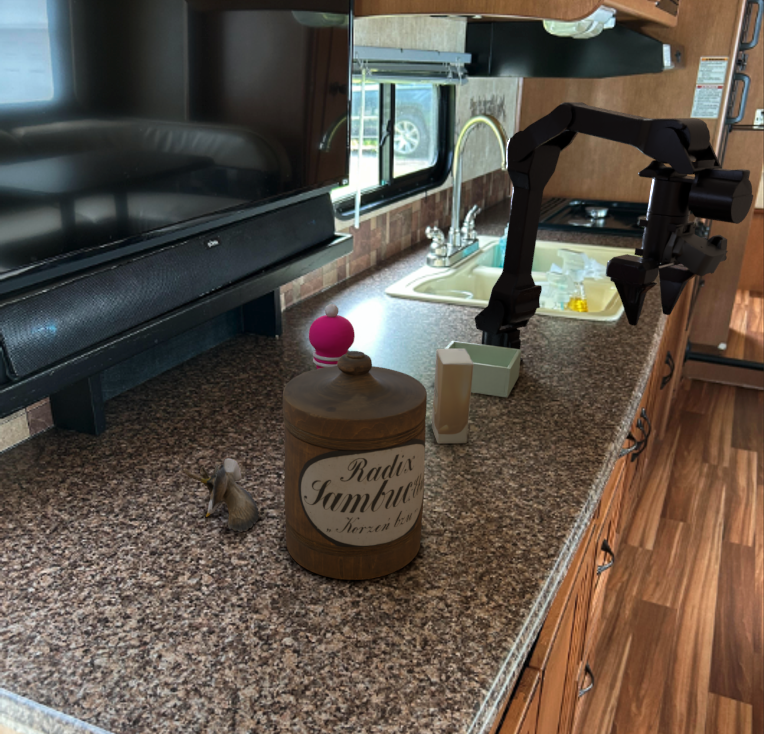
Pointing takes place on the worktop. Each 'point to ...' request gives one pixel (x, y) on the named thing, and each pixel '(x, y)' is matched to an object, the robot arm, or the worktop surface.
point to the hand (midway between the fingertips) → (650, 319)
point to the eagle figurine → (229, 495)
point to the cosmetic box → (452, 395)
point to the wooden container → (354, 468)
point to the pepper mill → (330, 337)
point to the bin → (491, 367)
